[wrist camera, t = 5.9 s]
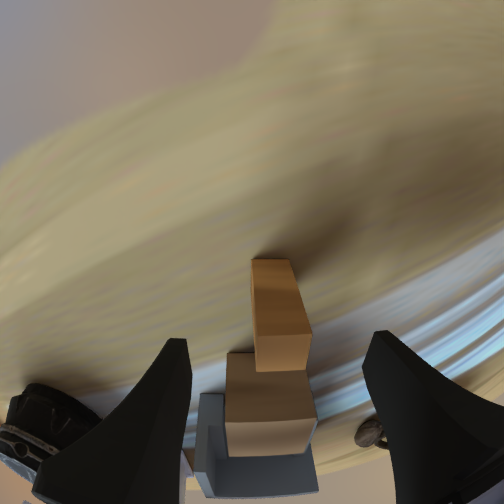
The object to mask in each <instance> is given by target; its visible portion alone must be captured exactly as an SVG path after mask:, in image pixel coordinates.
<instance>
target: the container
mask: <svg viewBox="0 0 504 504" xmlns="http://www.w3.org/2000/svg"><path fill="white" fill-rule="evenodd" d="M101 421H102V420H101V419H100V418H99V417H98V416H97V415H96V414H95V413H93V412H92V411H91V410H89V409H88V408H87V407H85V406H84V405H83V404H81V403H80V402H78V401H77V400H75V399H74V398H72V397H70V396H68V395H67V394H65V393H62V392H60V391H57V390H55V389H52V388H50V387H47V386H45V385H41V384H30V385H28V386H27V387H26V389H25V390H24V391H23V392H22V394H21V395H18V396H14V397H12V398H11V401H10V405H9V409H8V413H7V418H6V423H4V424H2V425H1V427H0V460H1V461H2V462H3V463H4V464H5V465H7V466H8V467H9V468H10V469H12V470H13V471H14V472H16V473H17V474H18V475H20V476H21V477H23V478H24V479H26V480H27V481H29V482H31V483H32V484H34V481H35V477H36V474H37V471H38V468H39V466H40V464H41V462H42V461H44V460H46V459H48V458H49V457H51V456H53V455H55V454H57V453H58V452H60V451H62V450H64V449H65V448H67V447H69V446H70V445H72V444H73V443H74V442H76V441H77V440H79V439H80V438H81V437H83V436H84V435H86V434H87V433H88V432H90V431H91V430H92V429H93V428H95V427H96V426H97V425H98V424H99V423H100V422H101Z"/></svg>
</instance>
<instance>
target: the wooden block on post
mask: <svg viewBox="0 0 504 504" xmlns="http://www.w3.org/2000/svg"><path fill="white" fill-rule="evenodd" d="M251 302H252V317H253V331H254V346H255V353H227V366H226V402H225V427H226V436H227V444H228V452H229V457H245V456H272V455H286V454H297V453H303V452H304V450H305V448H306V445H307V443H308V440H309V438H310V435H311V432H312V430H313V427H314V425H315V422H316V419H317V415H316V411H315V407H314V402H313V398H312V394H311V389H310V385H309V381H308V376H307V372H306V364H307V359H308V354H309V350H310V345H311V340H312V330H311V327H310V324H309V321H308V317H307V314H306V311H305V308H304V305H303V302H302V298H301V295H300V292H299V289H298V286H297V283H296V280H295V277H294V274H293V271H292V268H291V265H290V262H289V259H251Z"/></svg>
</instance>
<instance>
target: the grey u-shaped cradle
mask: <svg viewBox="0 0 504 504" xmlns="http://www.w3.org/2000/svg"><path fill="white" fill-rule="evenodd" d="M311 394H312V391H311ZM312 398H313V395H312ZM313 402H314V399H313ZM314 407H315V404H314ZM315 411H316V408H315ZM316 415H317V412H316ZM317 423H318V417H317V419H316V422H315V425H314V427H313V430H312V432H311V435H310V438H309V440H308V443H307V445H306V448H305V450H304V452H303V453H297V454H286V455H272V456H245V457H229V452H228V444H227V436H226V427H225V409H224V399H223V394H200V401H199V411H198V421H197V432H196V444H195V456H194V469H193V472H194V474H195V476H196V479H197V481H198V483H199V485H200V487H201V489H202V491H203V493H204V494H205V497H206V498H218V499H257V498H275V497H287V496H296V495H305V494H311V493H317V492H318V491H319V489H318V482H317V477H316V471H315V466H314V460H313V455H312V450H311V444H310V441H311V438H312V436H313V433H314V431H315V428H316V426H317Z"/></svg>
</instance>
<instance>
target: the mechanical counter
mask: <svg viewBox="0 0 504 504" xmlns="http://www.w3.org/2000/svg"><path fill="white" fill-rule="evenodd" d="M385 437H386V435H385V432H384V429H383V427H382V424H381V422H380V421H375V420H372V421H368V422H366V423H364V424H363V425H362V426H361V427H360V428H359V429H358V431H357V432H356V434H355V437H354V440H355V443H356V444H357V445H358V446H360V447H369V446H371V445H372V444H373V443H374V445H375V446H377V447H379V448H382V449H387V450H389V447H388V443H387V442H385V441H382V440H381V439H383V438H385Z"/></svg>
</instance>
